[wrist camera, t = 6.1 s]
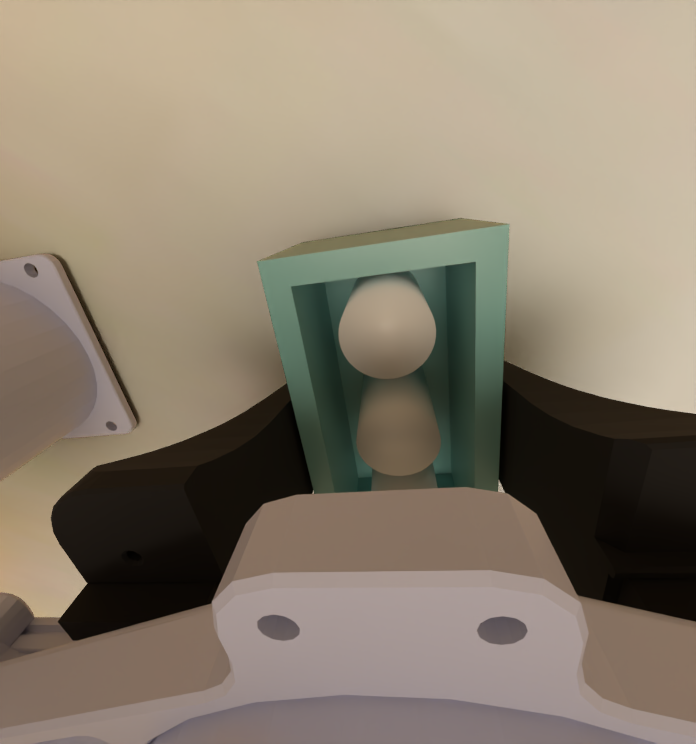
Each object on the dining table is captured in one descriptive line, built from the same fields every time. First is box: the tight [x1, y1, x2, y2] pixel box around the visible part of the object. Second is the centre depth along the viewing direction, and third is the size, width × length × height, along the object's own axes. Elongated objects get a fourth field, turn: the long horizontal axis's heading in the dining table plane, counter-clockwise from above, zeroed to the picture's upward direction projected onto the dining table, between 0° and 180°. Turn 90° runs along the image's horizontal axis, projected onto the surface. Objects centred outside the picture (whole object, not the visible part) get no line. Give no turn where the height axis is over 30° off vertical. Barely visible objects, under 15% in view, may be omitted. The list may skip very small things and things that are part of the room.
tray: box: [257, 218, 509, 494], centre depth 11 cm, size 5×10×4 cm, turn 8°
